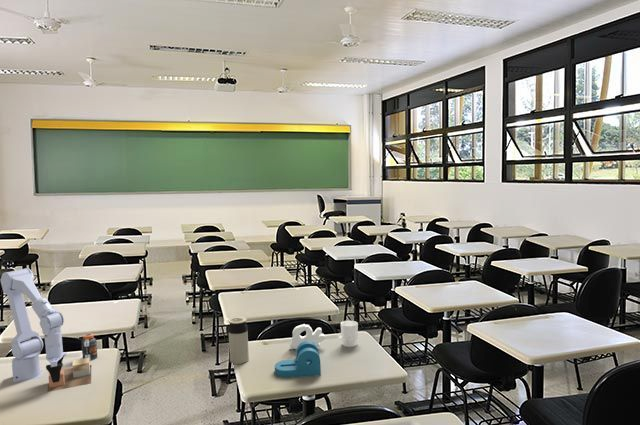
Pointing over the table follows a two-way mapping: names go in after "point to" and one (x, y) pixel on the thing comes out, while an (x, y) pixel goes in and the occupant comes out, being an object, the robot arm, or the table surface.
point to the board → (72, 380)
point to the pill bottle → (89, 347)
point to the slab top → (80, 364)
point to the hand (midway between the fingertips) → (56, 378)
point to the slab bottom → (81, 373)
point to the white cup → (349, 333)
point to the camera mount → (301, 362)
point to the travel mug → (238, 340)
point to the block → (61, 381)
